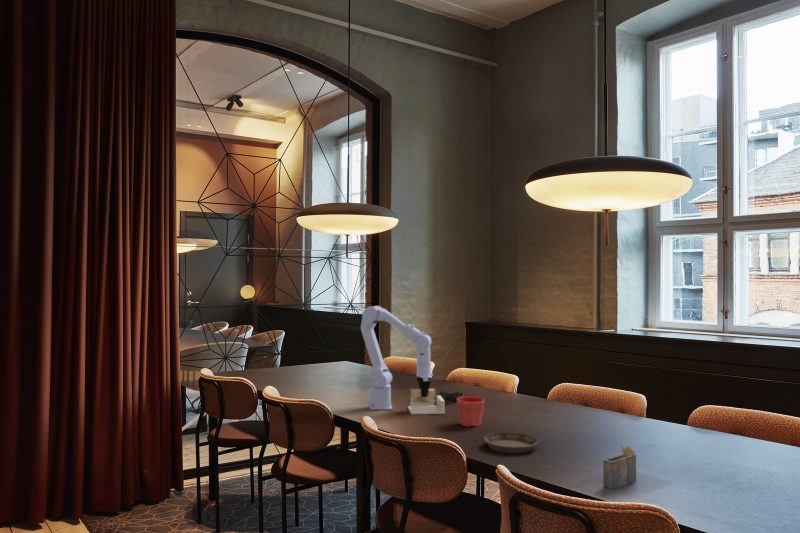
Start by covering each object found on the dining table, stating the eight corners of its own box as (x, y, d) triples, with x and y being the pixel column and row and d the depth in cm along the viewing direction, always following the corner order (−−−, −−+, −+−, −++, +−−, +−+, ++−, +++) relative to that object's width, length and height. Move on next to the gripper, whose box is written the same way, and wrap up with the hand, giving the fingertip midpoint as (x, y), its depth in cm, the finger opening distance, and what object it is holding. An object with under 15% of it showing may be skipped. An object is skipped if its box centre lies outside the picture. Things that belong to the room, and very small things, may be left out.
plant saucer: (549, 450, 200) (549, 440, 200) (508, 458, 191) (508, 449, 191) (512, 438, 215) (512, 429, 215) (473, 445, 206) (473, 436, 206)
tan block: (411, 402, 256) (411, 390, 256) (410, 401, 260) (410, 389, 260) (435, 402, 257) (435, 390, 257) (434, 400, 261) (434, 388, 261)
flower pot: (488, 422, 237) (488, 397, 237) (479, 429, 227) (479, 402, 227) (462, 419, 242) (462, 395, 242) (452, 426, 232) (452, 400, 232)
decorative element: (440, 408, 263) (440, 395, 263) (430, 407, 265) (430, 393, 265) (463, 401, 281) (464, 388, 282) (454, 400, 284) (454, 387, 284)
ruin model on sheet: (626, 479, 172) (626, 444, 172) (636, 482, 170) (636, 447, 170) (602, 488, 165) (601, 451, 165) (611, 491, 163) (611, 454, 163)
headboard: (411, 414, 252) (411, 401, 252) (408, 408, 264) (408, 395, 264) (444, 413, 253) (444, 400, 253) (440, 407, 265) (440, 395, 265)
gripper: (435, 365, 252) (435, 398, 251) (430, 361, 266) (430, 392, 266) (418, 366, 251) (418, 399, 251) (414, 361, 265) (414, 392, 265)
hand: (423, 395), depth 258 cm, fingers closed on tan block, 4 cm apart
